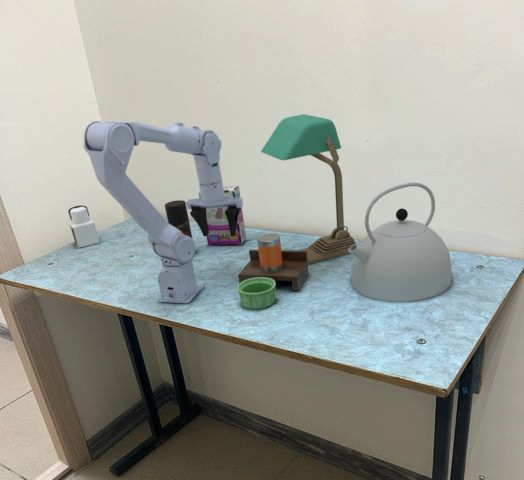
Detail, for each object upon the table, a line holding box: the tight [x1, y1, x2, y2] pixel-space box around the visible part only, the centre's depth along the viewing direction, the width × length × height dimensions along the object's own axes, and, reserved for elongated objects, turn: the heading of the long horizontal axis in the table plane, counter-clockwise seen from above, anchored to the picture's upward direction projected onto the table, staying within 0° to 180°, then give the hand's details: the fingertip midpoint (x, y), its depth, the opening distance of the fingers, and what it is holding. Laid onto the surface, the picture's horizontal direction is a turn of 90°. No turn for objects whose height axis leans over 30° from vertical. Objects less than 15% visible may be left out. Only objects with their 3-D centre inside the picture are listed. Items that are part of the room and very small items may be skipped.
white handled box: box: [67, 204, 101, 249], centre depth 177 cm, size 7×7×12 cm
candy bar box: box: [198, 185, 247, 246], centre depth 160 cm, size 11×5×16 cm, turn 73°
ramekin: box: [236, 277, 277, 310], centre depth 126 cm, size 9×9×4 cm
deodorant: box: [164, 199, 193, 239], centre depth 157 cm, size 6×6×15 cm
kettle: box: [348, 181, 452, 303], centre depth 122 cm, size 25×23×22 cm
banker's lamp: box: [260, 113, 357, 265], centre depth 139 cm, size 16×21×35 cm
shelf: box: [237, 249, 310, 293], centre depth 134 cm, size 10×15×6 cm, turn 71°
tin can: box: [256, 233, 283, 273], centre depth 131 cm, size 6×6×8 cm
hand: (219, 235), depth 139 cm, fingers open, 7 cm apart
